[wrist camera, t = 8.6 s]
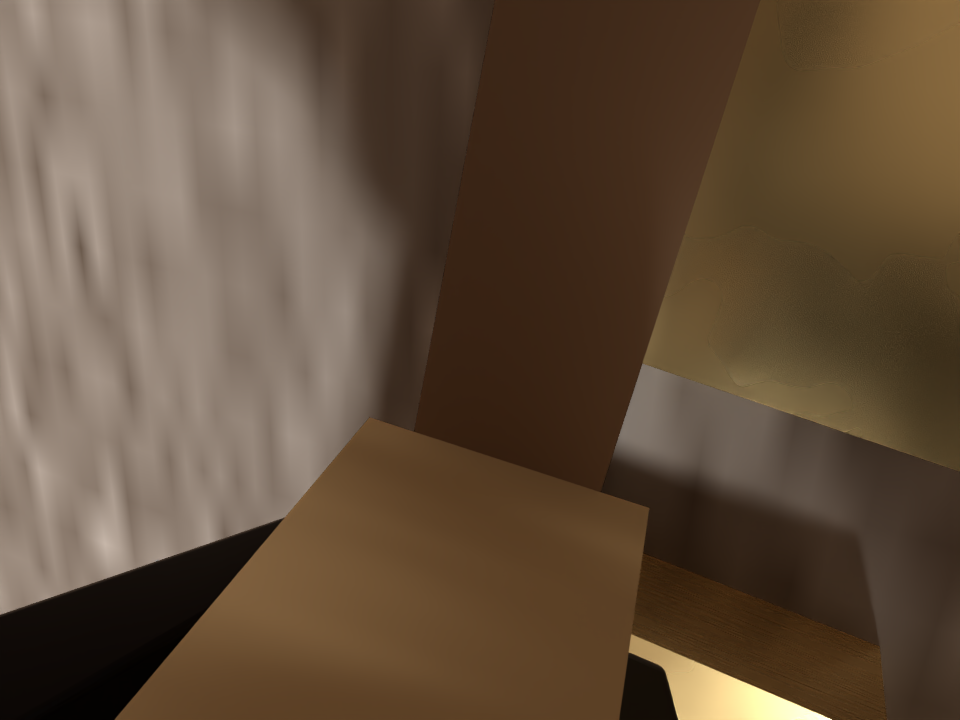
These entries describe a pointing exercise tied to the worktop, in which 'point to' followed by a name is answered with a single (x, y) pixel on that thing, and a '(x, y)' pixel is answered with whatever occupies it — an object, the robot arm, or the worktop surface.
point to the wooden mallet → (496, 409)
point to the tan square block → (749, 654)
